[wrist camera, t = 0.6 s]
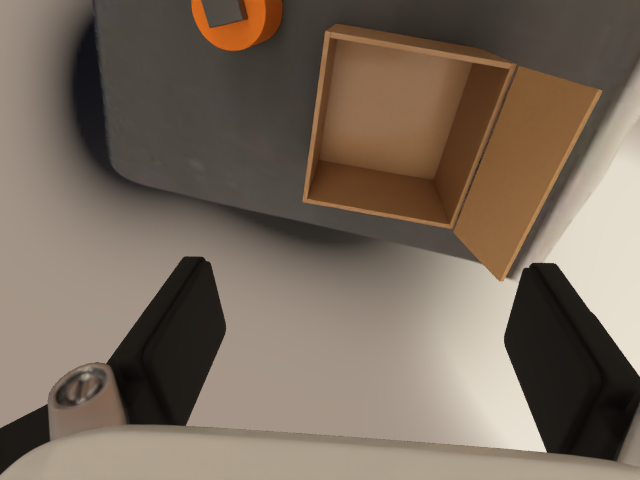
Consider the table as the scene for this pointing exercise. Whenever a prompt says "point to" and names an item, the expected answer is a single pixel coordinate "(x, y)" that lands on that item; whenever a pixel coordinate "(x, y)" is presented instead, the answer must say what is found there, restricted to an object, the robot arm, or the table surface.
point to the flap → (522, 164)
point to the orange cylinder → (237, 21)
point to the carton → (401, 123)
